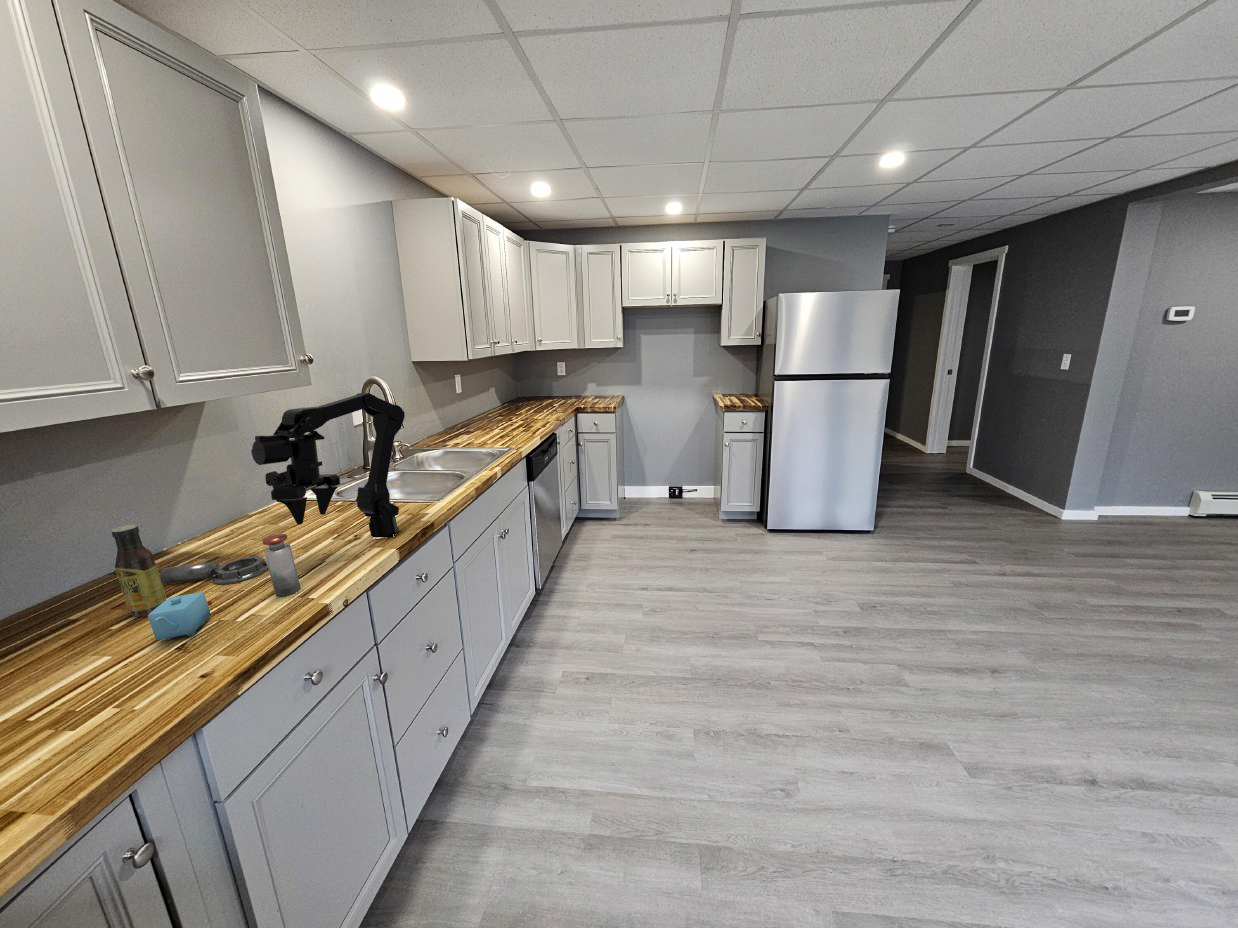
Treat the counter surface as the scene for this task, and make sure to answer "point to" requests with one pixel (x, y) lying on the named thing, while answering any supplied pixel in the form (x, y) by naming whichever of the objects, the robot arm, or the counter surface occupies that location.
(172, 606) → the teapot
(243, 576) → the dark grey handled piece
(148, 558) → the sauce bottle
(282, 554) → the jar with red lid
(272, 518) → the counter surface
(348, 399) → the robot arm
